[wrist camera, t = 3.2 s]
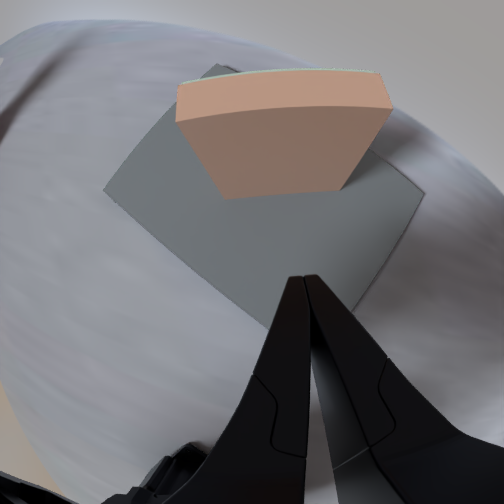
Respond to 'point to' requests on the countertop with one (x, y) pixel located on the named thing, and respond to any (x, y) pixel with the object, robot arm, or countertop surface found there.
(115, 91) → the countertop surface
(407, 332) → the countertop surface
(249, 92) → the tile
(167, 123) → the mat
